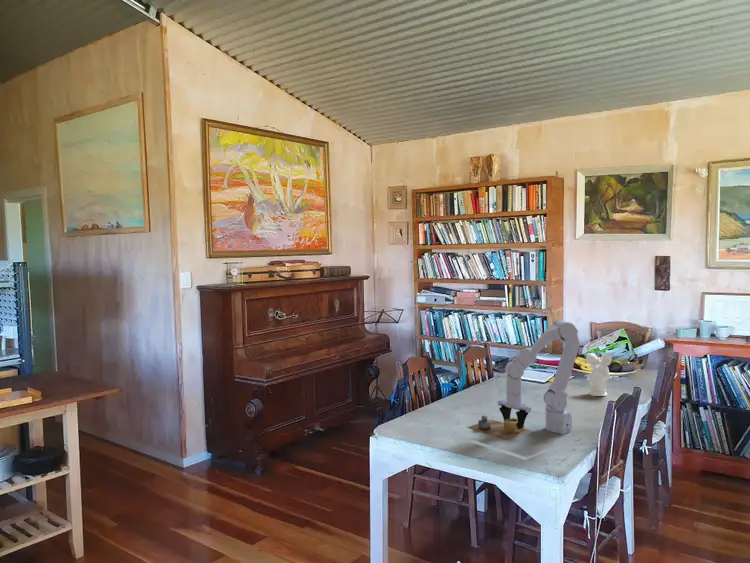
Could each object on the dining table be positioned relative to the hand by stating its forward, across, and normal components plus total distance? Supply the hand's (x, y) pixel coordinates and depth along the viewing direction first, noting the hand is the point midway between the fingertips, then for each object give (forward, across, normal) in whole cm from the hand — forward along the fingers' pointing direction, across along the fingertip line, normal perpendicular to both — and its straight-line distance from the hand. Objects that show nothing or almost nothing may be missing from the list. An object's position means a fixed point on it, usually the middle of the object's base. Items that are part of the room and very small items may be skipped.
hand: (513, 426), depth 224 cm
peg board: (+2, -5, -3) cm, 6 cm away
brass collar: (+1, 0, 0) cm, 1 cm away
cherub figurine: (+3, -7, +80) cm, 80 cm away
